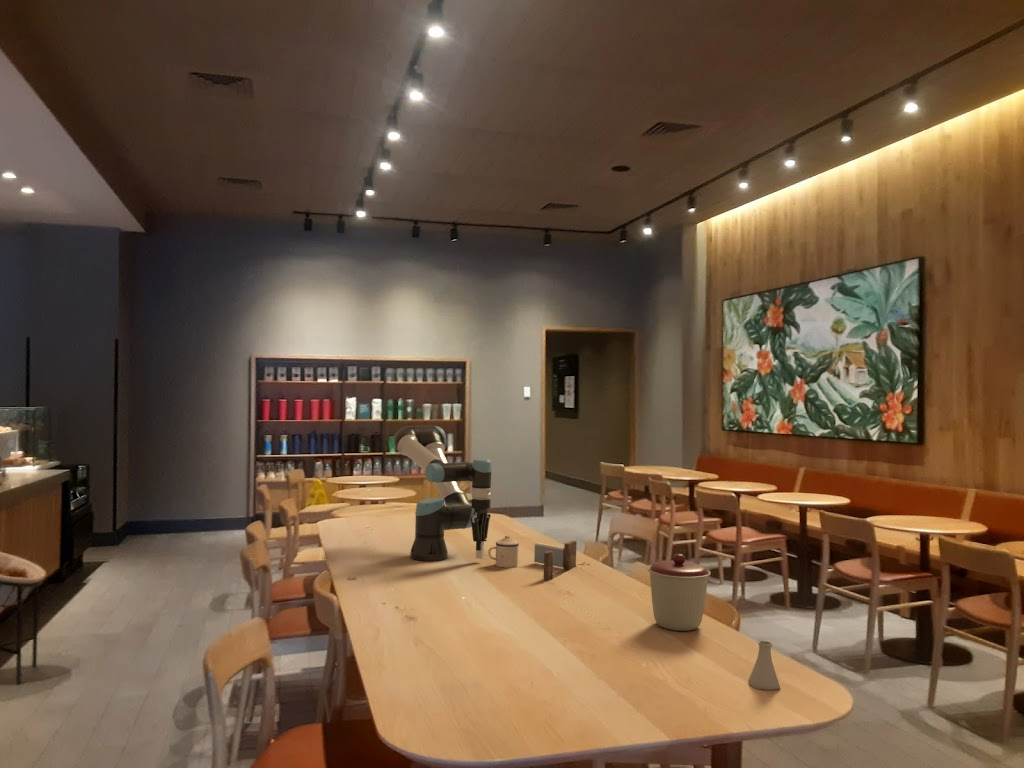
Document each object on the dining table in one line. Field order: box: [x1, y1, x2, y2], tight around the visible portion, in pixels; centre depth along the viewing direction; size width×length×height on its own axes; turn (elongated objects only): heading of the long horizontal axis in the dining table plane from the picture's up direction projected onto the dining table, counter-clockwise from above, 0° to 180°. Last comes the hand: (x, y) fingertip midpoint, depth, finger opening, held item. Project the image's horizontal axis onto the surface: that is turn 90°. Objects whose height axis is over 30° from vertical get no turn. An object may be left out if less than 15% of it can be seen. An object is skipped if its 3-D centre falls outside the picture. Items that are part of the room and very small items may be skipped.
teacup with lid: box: [487, 534, 520, 569], centre depth 298 cm, size 12×9×12 cm
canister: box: [647, 553, 711, 632], centre depth 224 cm, size 18×18×21 cm
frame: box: [542, 540, 577, 581], centre depth 287 cm, size 2×28×10 cm, turn 154°
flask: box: [747, 639, 781, 691], centre depth 179 cm, size 7×7×10 cm
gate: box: [534, 542, 564, 569], centre depth 299 cm, size 14×1×8 cm, turn 50°
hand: (479, 558), depth 302 cm, fingers closed
